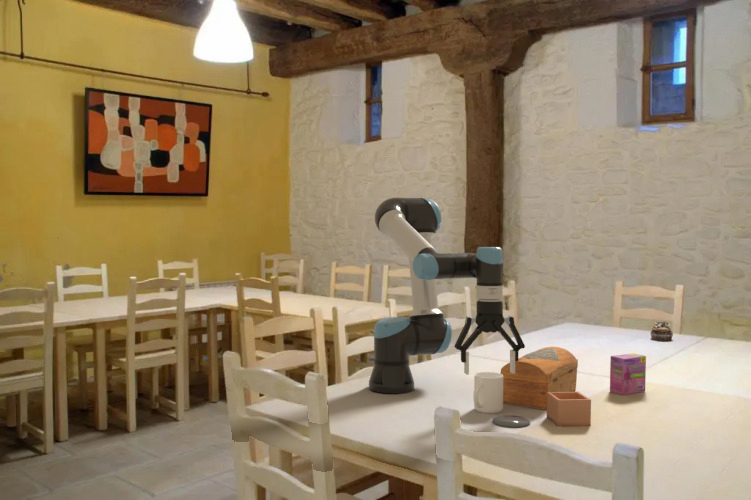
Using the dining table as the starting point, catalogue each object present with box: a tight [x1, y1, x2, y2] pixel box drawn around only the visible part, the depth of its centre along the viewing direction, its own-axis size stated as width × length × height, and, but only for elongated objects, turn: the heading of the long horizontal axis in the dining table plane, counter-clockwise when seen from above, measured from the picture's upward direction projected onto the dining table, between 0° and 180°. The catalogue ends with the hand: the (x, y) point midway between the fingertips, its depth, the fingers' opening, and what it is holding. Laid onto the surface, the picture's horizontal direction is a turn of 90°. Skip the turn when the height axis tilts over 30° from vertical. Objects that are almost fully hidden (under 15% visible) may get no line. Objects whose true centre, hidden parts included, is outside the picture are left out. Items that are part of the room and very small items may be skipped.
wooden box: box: [499, 346, 579, 411], centre depth 217 cm, size 30×16×14 cm, turn 147°
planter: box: [546, 391, 592, 427], centre depth 188 cm, size 9×9×7 cm
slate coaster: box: [492, 414, 531, 429], centre depth 187 cm, size 10×10×1 cm
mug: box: [473, 371, 504, 414], centre depth 198 cm, size 12×8×10 cm
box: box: [609, 352, 647, 396], centre depth 223 cm, size 10×6×12 cm, turn 117°
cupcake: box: [650, 321, 674, 342], centre depth 317 cm, size 10×10×10 cm
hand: (489, 373), depth 199 cm, fingers open, 13 cm apart
